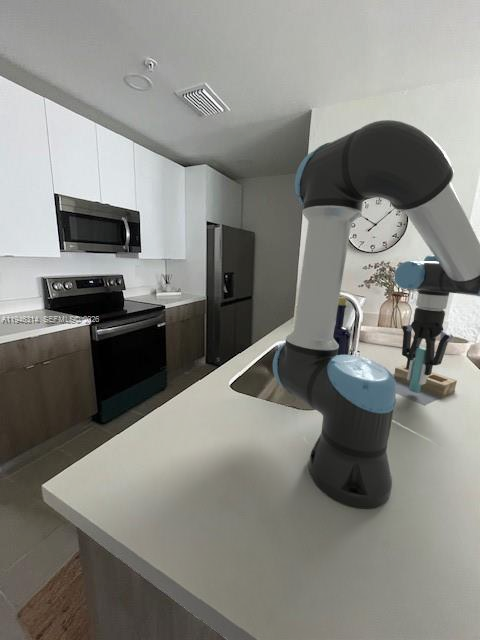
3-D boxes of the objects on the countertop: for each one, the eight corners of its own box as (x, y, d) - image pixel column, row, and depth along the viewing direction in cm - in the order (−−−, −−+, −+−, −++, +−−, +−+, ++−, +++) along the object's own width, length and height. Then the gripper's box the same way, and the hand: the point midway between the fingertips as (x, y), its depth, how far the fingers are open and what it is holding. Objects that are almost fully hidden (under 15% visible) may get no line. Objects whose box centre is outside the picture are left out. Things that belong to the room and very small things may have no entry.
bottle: (342, 376, 101) (352, 296, 94) (350, 387, 92) (361, 300, 86) (317, 374, 102) (325, 295, 95) (322, 385, 93) (331, 299, 86)
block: (442, 397, 87) (445, 385, 86) (393, 377, 100) (395, 367, 99) (454, 391, 91) (456, 380, 90) (405, 373, 104) (407, 364, 103)
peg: (416, 393, 85) (425, 350, 82) (407, 389, 87) (414, 347, 84) (421, 391, 86) (430, 349, 83) (412, 387, 89) (419, 346, 86)
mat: (424, 406, 81) (424, 405, 81) (369, 382, 97) (370, 381, 96) (455, 392, 91) (455, 391, 91) (402, 372, 106) (402, 371, 106)
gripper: (468, 312, 76) (450, 389, 81) (409, 303, 90) (397, 370, 95) (455, 314, 73) (438, 394, 78) (396, 304, 86) (385, 373, 91)
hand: (416, 381), depth 86 cm, fingers closed on peg, 3 cm apart
